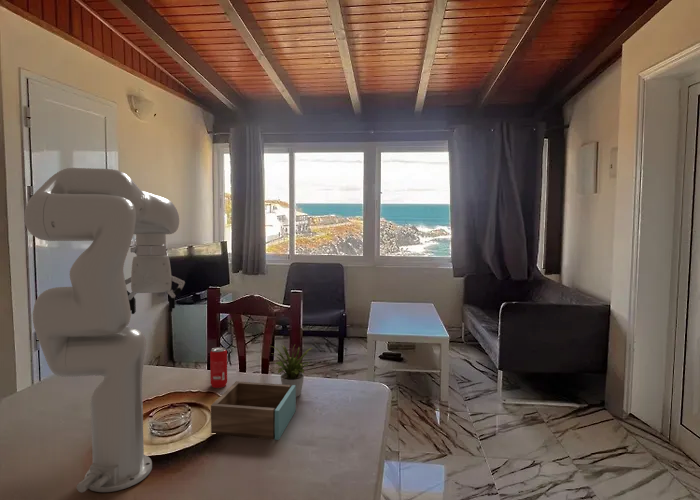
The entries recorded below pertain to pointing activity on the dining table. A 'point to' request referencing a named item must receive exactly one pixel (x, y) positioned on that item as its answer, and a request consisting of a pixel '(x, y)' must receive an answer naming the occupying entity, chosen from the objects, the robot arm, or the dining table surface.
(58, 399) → the dining table surface
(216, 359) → the beverage can
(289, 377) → the house plant
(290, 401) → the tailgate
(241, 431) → the crate
